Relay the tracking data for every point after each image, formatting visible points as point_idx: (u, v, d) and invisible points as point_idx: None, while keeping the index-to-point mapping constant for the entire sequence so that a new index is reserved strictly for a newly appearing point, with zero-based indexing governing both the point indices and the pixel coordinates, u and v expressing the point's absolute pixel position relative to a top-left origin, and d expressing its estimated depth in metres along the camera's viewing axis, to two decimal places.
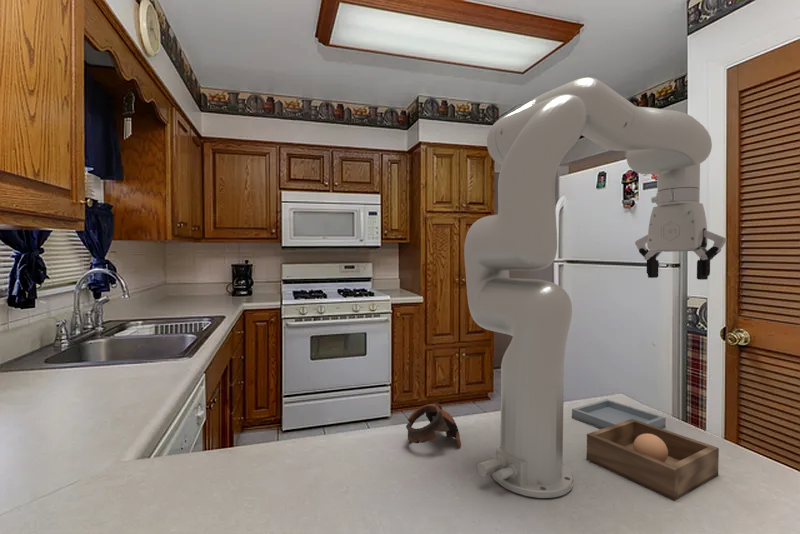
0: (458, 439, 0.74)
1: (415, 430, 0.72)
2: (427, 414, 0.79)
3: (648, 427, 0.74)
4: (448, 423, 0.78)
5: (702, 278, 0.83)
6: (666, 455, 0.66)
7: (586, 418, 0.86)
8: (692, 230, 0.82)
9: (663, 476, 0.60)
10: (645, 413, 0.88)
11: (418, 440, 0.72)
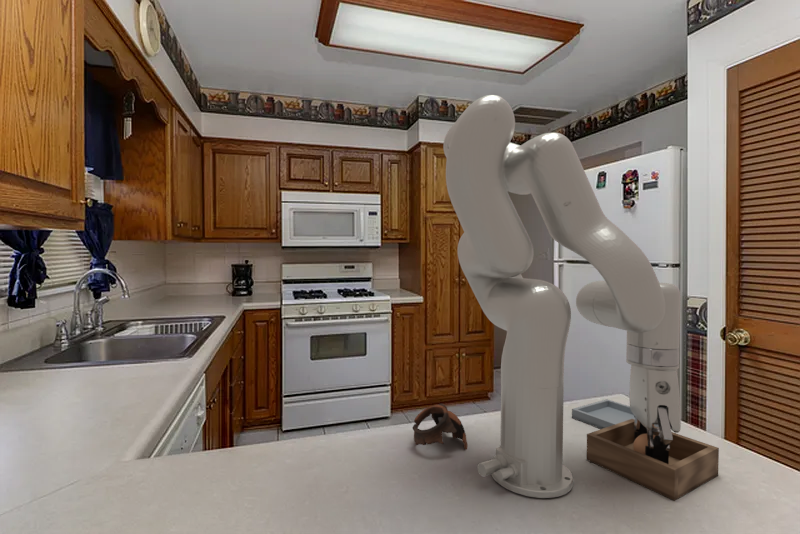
0: (465, 440, 0.74)
1: (422, 431, 0.72)
2: (433, 415, 0.79)
3: None
4: (454, 424, 0.78)
5: None
6: None
7: (586, 418, 0.86)
8: None
9: (663, 476, 0.60)
10: None
11: (425, 441, 0.72)
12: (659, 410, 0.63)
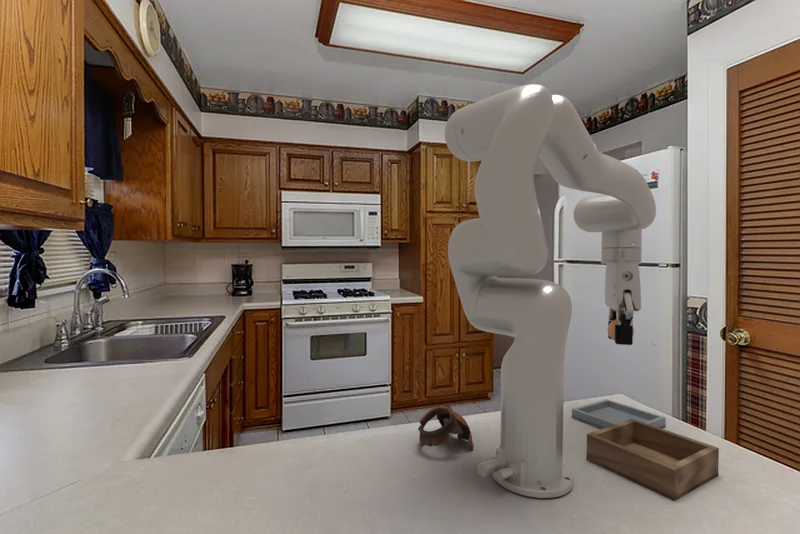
0: (471, 441, 0.73)
1: (428, 432, 0.71)
2: (438, 416, 0.78)
3: (648, 427, 0.74)
4: (460, 425, 0.77)
5: None
6: None
7: (586, 418, 0.86)
8: None
9: (663, 476, 0.60)
10: (645, 413, 0.88)
11: (431, 443, 0.71)
12: (625, 294, 0.82)
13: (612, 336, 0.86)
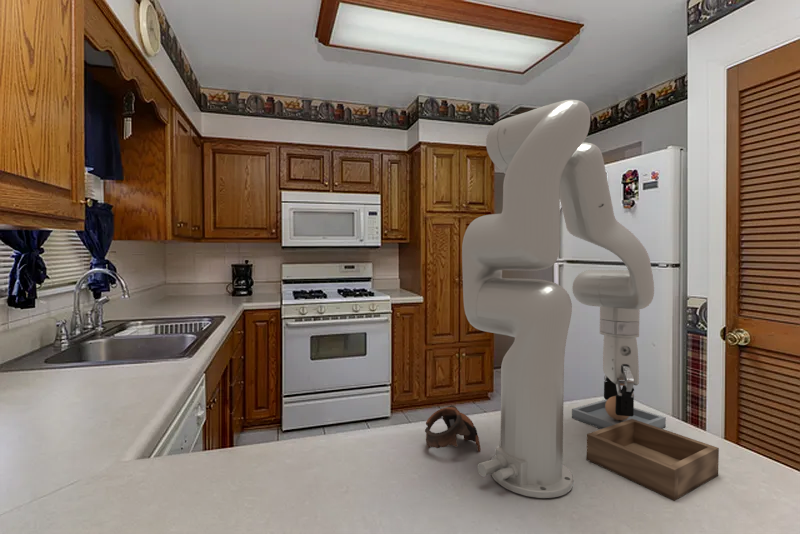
0: (478, 442, 0.73)
1: (436, 434, 0.71)
2: (444, 417, 0.78)
3: (648, 427, 0.74)
4: None
5: None
6: None
7: (586, 418, 0.86)
8: None
9: (663, 476, 0.60)
10: (645, 413, 0.88)
11: (439, 444, 0.70)
12: (623, 365, 0.82)
13: (610, 414, 0.86)
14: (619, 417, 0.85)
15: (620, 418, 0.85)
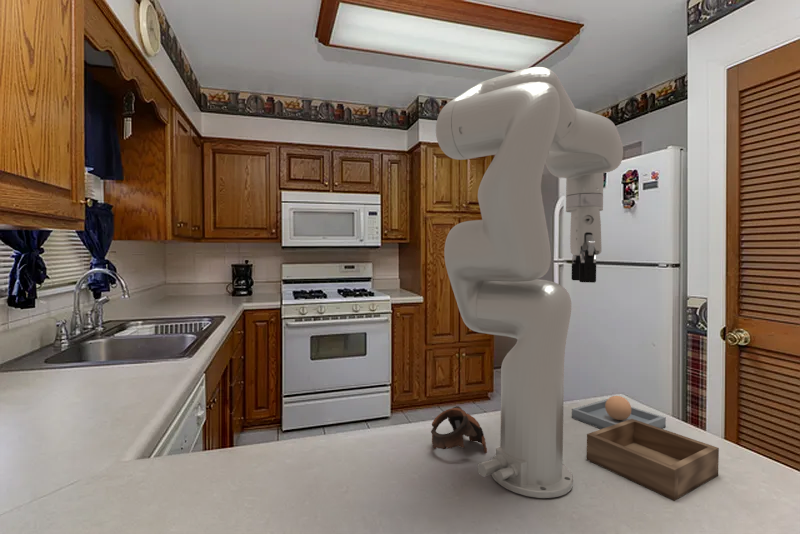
0: (484, 444, 0.73)
1: (442, 435, 0.70)
2: (449, 418, 0.77)
3: (648, 427, 0.74)
4: None
5: None
6: (629, 411, 0.85)
7: (586, 418, 0.86)
8: None
9: (663, 476, 0.60)
10: (645, 413, 0.88)
11: (445, 446, 0.70)
12: (586, 234, 0.85)
13: (610, 414, 0.87)
14: (619, 416, 0.85)
15: (620, 418, 0.85)
